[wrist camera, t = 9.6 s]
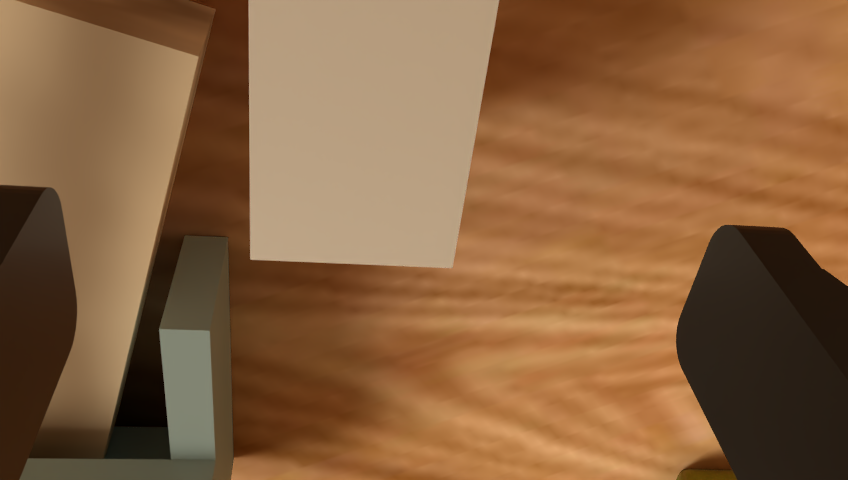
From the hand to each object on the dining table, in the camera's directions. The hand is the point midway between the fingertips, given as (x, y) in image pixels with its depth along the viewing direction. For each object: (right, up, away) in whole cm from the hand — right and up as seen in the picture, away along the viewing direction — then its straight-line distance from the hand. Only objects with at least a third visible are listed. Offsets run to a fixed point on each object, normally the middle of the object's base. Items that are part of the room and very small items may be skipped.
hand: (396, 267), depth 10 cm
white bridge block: (-1, +9, +13) cm, 16 cm away
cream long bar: (-12, +1, +18) cm, 22 cm away
